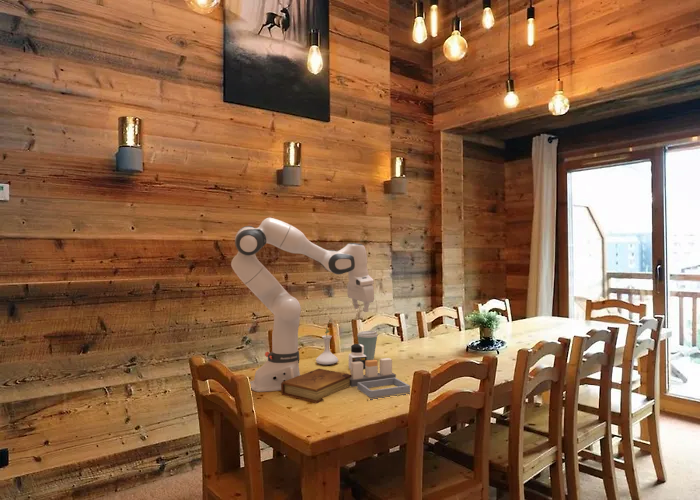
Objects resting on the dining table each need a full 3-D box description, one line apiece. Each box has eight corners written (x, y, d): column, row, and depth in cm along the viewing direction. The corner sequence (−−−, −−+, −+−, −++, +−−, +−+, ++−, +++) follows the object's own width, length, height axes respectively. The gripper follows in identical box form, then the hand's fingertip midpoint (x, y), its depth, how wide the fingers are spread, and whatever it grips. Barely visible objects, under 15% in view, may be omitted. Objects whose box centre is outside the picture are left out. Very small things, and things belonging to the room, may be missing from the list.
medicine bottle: (352, 372, 229) (352, 346, 229) (348, 368, 236) (348, 343, 236) (366, 370, 231) (366, 345, 231) (362, 367, 238) (362, 342, 238)
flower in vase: (335, 367, 238) (335, 316, 238) (313, 365, 241) (312, 315, 240) (341, 360, 251) (341, 312, 250) (319, 359, 253) (319, 311, 253)
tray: (370, 400, 189) (370, 391, 189) (357, 391, 201) (357, 382, 200) (409, 394, 196) (409, 385, 196) (394, 385, 208) (394, 377, 207)
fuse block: (351, 389, 203) (351, 381, 203) (345, 384, 209) (344, 376, 209) (397, 382, 212) (397, 374, 212) (390, 378, 218) (390, 370, 218)
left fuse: (353, 385, 206) (353, 363, 205) (350, 383, 208) (350, 362, 208) (363, 383, 207) (363, 362, 207) (360, 381, 210) (360, 361, 210)
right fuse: (382, 381, 211) (382, 360, 211) (379, 379, 214) (379, 358, 214) (392, 379, 213) (392, 359, 213) (388, 378, 216) (388, 357, 215)
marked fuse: (368, 383, 208) (368, 362, 208) (365, 381, 211) (365, 360, 211) (377, 381, 210) (377, 361, 210) (374, 379, 213) (374, 359, 213)
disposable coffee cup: (353, 361, 249) (353, 332, 249) (362, 356, 259) (362, 328, 258) (372, 363, 244) (372, 333, 244) (381, 358, 254) (381, 330, 253)
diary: (317, 381, 216) (317, 368, 216) (351, 388, 205) (351, 374, 205) (281, 395, 197) (281, 380, 197) (316, 403, 186) (316, 388, 186)
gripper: (342, 278, 223) (345, 307, 224) (362, 282, 204) (364, 314, 206) (355, 276, 226) (357, 305, 227) (375, 280, 207) (378, 312, 208)
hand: (361, 310), depth 216 cm, fingers open, 8 cm apart
